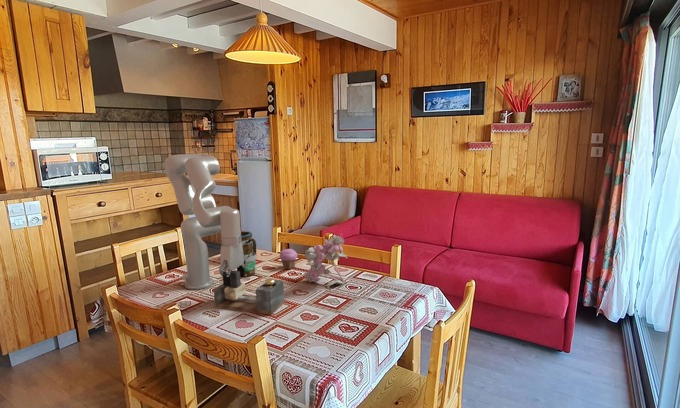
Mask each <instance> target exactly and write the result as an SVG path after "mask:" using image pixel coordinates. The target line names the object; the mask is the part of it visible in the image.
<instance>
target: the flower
mask: <svg viewBox="0 0 680 408" xmlns="http://www.w3.org/2000/svg"><path fill="white" fill-rule="evenodd" d="M342 234H343V233H340V236H339V235H336V234H334V235H332V236H331V237H330V238H328V239H326V238H325V239H324V244H323V245H321V244H317V245H314V247H313V246H312V247H309V248H308V249H305V254H303V255H302V256H303V257H305V261H306V262H307V263H312V264H310V265H309V266H310V268H309V269H308V272H305V273H304V274H303V276H304V277H305V278H304V280H305V281H308V282H309V283H311V282H312V281H313V282H319V281H320V280H321V277H319V276H320V275H321V276H322V275H324V276H325V277H326V276H329V277H332V278H334V279H337V280H335V281H334V280H333V281H329V282H327V285H326V286H327V289H328V290H329V289H330V286H332V285H335V284H344V283H345V284H348V281H345V280H344V277H343V276H342V274H341V273H340V271H339V268H338V267H337V265H336V263H335V262H334V261H335V260H338V261H340V258H339V257H342V258H346V259H348V257H347V255H346V253H344V248H343V246H342V245H343V244H344V243H345V239H344V237H342ZM324 260H327V261H330V262H331V264H332V265H333V267H334V269H335V271H336V273H337V274H338V276H337V275H335V274H332V271H330V269H328V268H327V266H328V264H323V261H324Z"/></svg>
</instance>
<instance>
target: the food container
mask: <svg viewBox="0 0 680 408" xmlns="http://www.w3.org/2000/svg"><path fill="white" fill-rule="evenodd" d="M256 260H257V253H256V254H255V253H254V252H248V254H247V255H246V260H245V261H246V262H245V268H244V271H245V277H244V278H243V279H246V278H250V277H254V276H255V275H256Z"/></svg>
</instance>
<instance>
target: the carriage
mask: <svg viewBox="0 0 680 408" xmlns="http://www.w3.org/2000/svg"><path fill="white" fill-rule="evenodd" d="M229 276H231V286H228V287H226V288H225V289H224V291H225V298H227V299H235V300H236V299H238V298H239V297H240V296H242V295H243V294H244V295H246V283H242V281H241V280H242V279H241V277H240V271H237V270H232V271H231V273H230V275H229Z"/></svg>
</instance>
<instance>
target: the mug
mask: <svg viewBox="0 0 680 408" xmlns="http://www.w3.org/2000/svg"><path fill="white" fill-rule="evenodd" d="M241 242H242V247H243V254H244V255H247V254H248V252H254V253H255V254H256V255H257V241H256V240H255V239H254V238H253V233H252V232H251V231H245V230H244V231H243V230H241Z"/></svg>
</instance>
